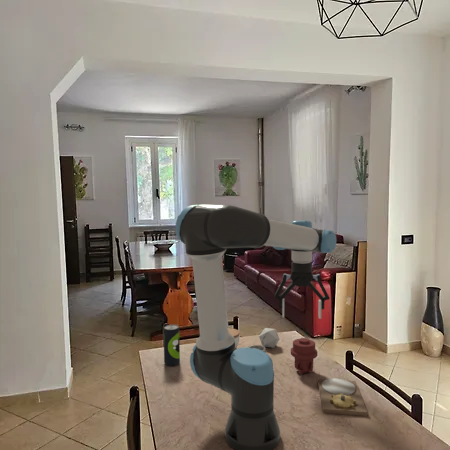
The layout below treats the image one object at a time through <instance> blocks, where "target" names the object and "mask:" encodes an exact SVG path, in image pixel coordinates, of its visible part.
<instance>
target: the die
mask: <svg viewBox="0 0 450 450" xmlns="http://www.w3.org/2000/svg"><path fill="white" fill-rule="evenodd" d="M258 337H259V340H260V342H261V346H264V347H265V348H269V349H275V348H276V346H277V344H278V343H279V341H280V339H281V338H280V337H279V334H278V331H277V329H276V328H268V327H265V328H264V329H263V330H262V331H261V333H260V334H259V336H258Z"/></svg>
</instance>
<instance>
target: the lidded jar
mask: <svg viewBox="0 0 450 450" xmlns="http://www.w3.org/2000/svg"><path fill="white" fill-rule="evenodd" d="M228 329H229V333H230V334H231V335H232V336H233V337H234V339H235V349H236V348H237V347H238V346H239V342H240V335H241V333H240V331H239V330H238V329H236V328H230V327H228Z"/></svg>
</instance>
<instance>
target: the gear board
mask: <svg viewBox="0 0 450 450" xmlns="http://www.w3.org/2000/svg"><path fill="white" fill-rule="evenodd" d="M317 385H318V391H319V397H320V405H321V408H322V409H323V410H322V413H323V414H335V415H336V414H337V415H347V414H349V415H350V416H360V415H361V416H362V415H363V416H364V417H367V416H368V411H367V408H366V406H365V403H364V401H363V398H362V395H361V393H360V389H359V387H358V385H357V381H356V380H346V379H343V378H337V377H336V378H335V377H333V378H317ZM365 415H366V416H365Z"/></svg>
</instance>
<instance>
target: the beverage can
mask: <svg viewBox="0 0 450 450" xmlns="http://www.w3.org/2000/svg"><path fill="white" fill-rule="evenodd" d="M180 342H181V341H180V328H179V325H178V324H168V325H165V326H164V327H163V362H164V364H165V365H166V367H167V366H168V367H174V366H177V365H179V363H180V362H181V358H180V357H181V350H180V347H181V346H180V344H181V343H180Z"/></svg>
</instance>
